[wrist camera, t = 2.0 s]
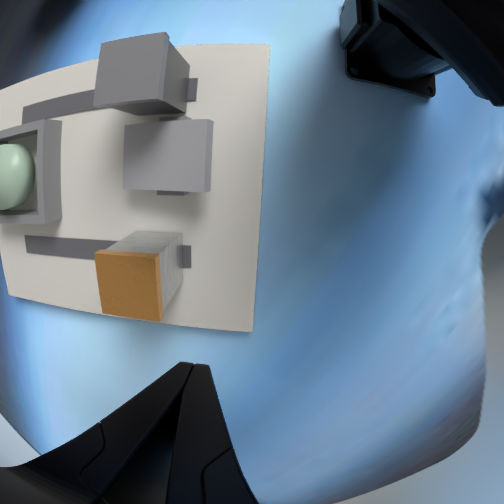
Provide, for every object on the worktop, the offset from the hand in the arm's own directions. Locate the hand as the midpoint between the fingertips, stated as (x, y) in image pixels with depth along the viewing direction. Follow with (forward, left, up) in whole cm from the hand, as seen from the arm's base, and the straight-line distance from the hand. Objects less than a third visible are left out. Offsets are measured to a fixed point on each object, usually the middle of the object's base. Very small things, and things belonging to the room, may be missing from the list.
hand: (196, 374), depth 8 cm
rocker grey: (+4, -6, -9) cm, 11 cm away
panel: (+10, -4, -12) cm, 16 cm away
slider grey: (+5, -10, -10) cm, 15 cm away
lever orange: (+5, 0, -10) cm, 11 cm away
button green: (+15, -5, -9) cm, 19 cm away
